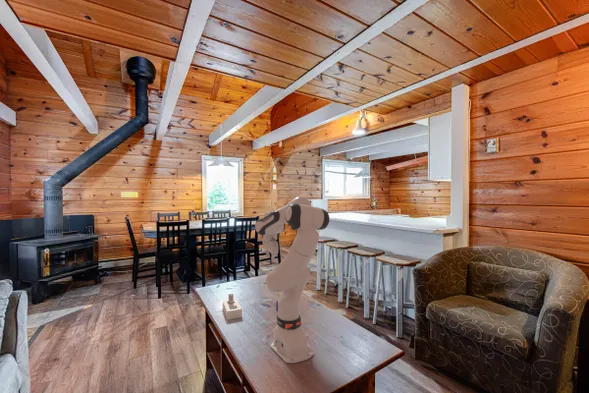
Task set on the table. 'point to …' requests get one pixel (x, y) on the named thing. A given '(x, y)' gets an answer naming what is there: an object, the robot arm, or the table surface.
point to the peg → (230, 298)
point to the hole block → (232, 309)
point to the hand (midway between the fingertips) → (270, 258)
